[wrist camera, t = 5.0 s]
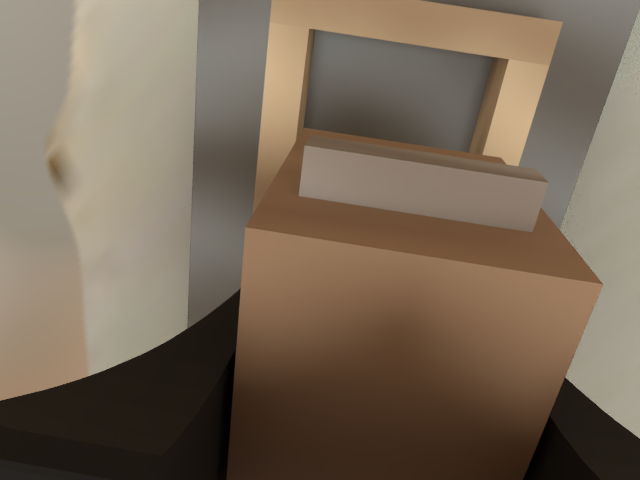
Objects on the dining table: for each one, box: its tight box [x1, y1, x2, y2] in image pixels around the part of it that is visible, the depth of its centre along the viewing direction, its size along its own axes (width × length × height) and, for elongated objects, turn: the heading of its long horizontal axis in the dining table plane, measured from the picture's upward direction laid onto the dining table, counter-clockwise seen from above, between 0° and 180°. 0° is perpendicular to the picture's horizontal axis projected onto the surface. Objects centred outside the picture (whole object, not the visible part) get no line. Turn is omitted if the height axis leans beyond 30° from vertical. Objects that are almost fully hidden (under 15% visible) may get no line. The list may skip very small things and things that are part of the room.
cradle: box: [187, 0, 640, 329], centre depth 19 cm, size 20×14×3 cm
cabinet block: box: [226, 128, 603, 480], centre depth 11 cm, size 9×5×6 cm, turn 173°
